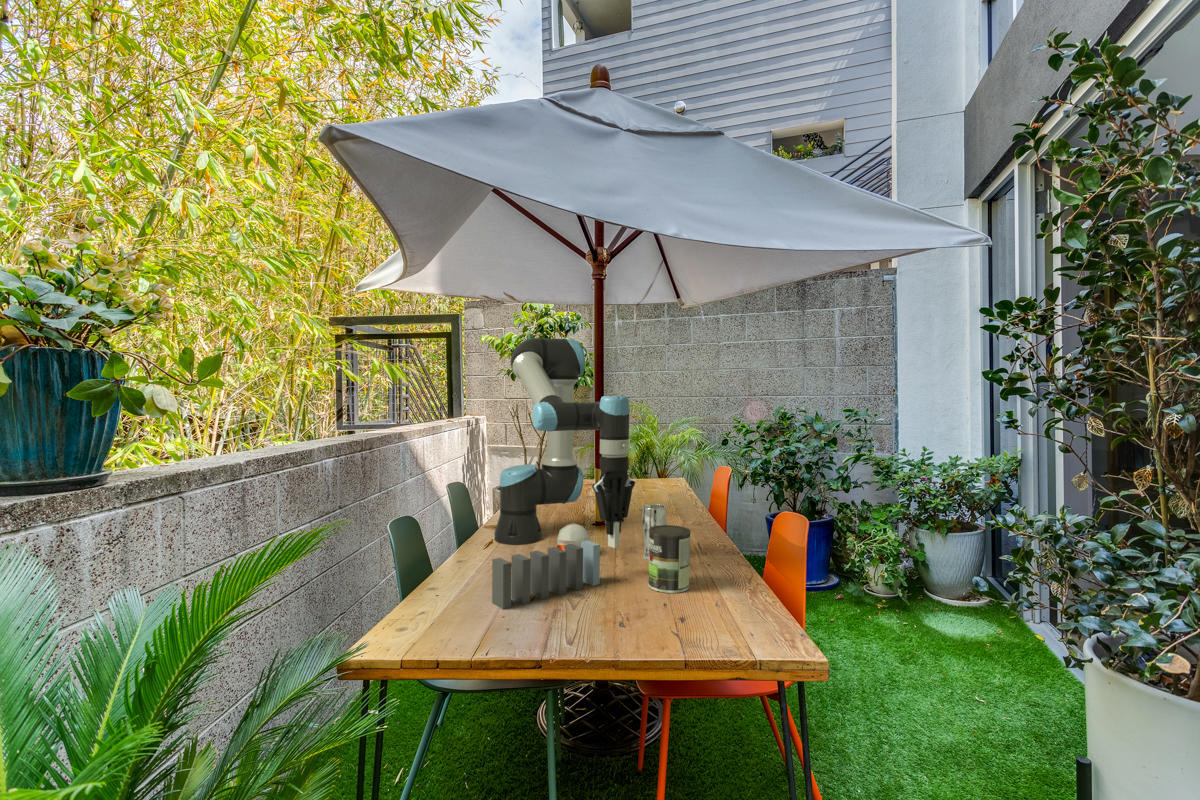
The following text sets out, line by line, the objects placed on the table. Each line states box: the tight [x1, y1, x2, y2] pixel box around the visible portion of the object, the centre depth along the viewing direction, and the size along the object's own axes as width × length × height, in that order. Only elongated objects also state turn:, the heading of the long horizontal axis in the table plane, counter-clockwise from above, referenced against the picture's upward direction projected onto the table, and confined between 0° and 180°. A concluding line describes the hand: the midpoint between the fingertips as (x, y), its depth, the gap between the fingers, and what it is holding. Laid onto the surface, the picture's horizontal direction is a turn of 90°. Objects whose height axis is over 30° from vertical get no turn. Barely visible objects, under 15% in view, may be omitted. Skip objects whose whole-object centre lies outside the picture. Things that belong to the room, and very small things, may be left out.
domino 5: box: [565, 544, 584, 591], centre depth 145 cm, size 2×5×10 cm, turn 39°
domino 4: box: [547, 546, 567, 596], centre depth 142 cm, size 2×5×10 cm, turn 39°
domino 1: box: [491, 557, 512, 610], centre depth 133 cm, size 2×5×10 cm, turn 39°
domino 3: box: [529, 549, 550, 600], centre depth 139 cm, size 2×5×10 cm, turn 39°
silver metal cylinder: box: [641, 503, 667, 561], centre depth 171 cm, size 7×7×15 cm
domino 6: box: [581, 540, 601, 587], centre depth 149 cm, size 2×5×10 cm, turn 39°
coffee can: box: [647, 524, 692, 594], centre depth 146 cm, size 10×10×14 cm
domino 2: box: [511, 553, 531, 605], centre depth 136 cm, size 2×5×10 cm, turn 39°
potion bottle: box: [556, 522, 591, 551], centre depth 170 cm, size 9×10×15 cm
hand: (613, 546), depth 153 cm, fingers closed
